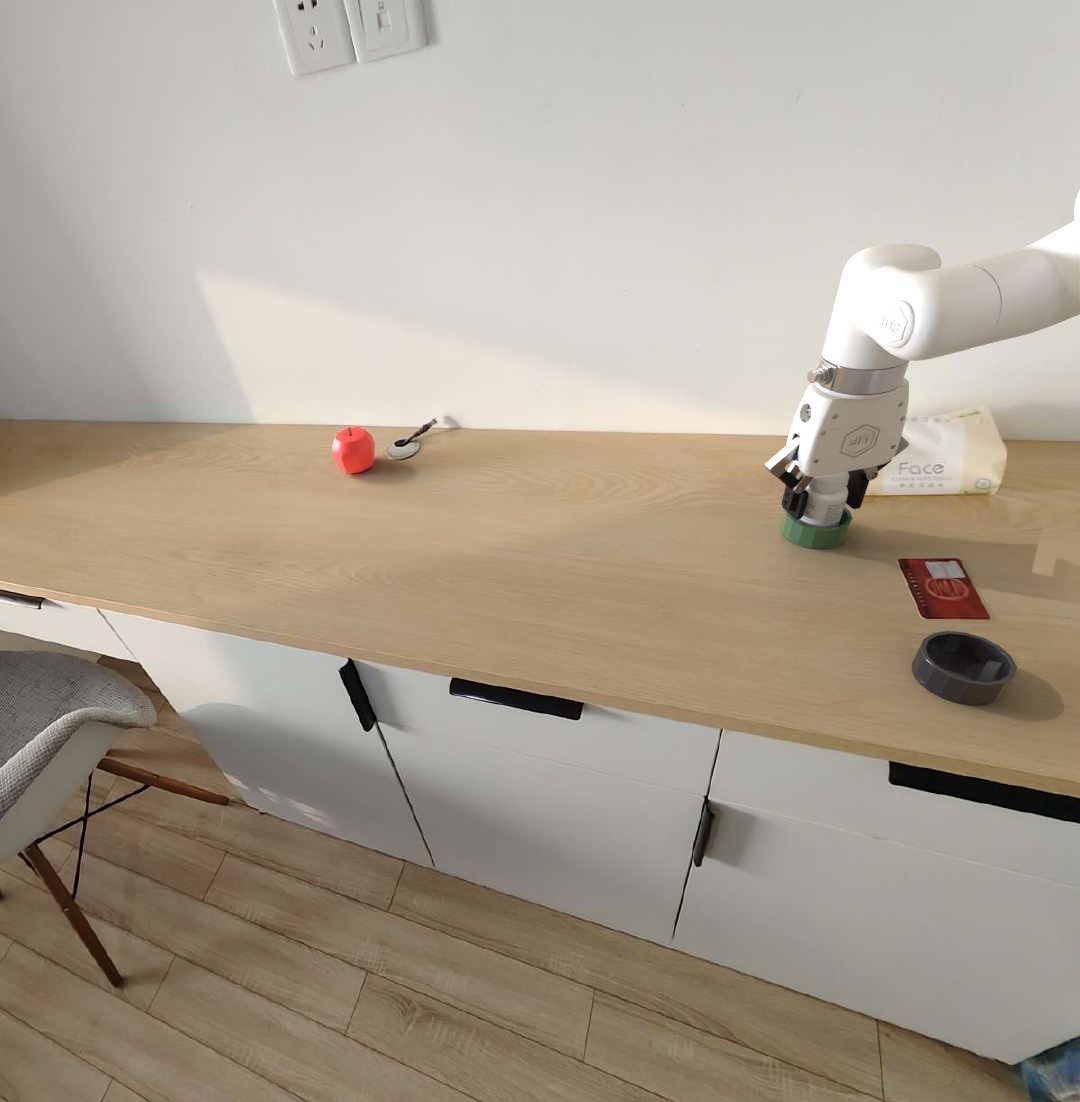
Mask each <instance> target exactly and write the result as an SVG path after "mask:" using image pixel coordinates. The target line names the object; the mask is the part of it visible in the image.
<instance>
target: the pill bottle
mask: <svg viewBox="0 0 1080 1102" xmlns="http://www.w3.org/2000/svg"><path fill="white" fill-rule="evenodd" d="M848 480H849V473H848V472H842V473H837V474H831V475H825V476H819V477H814V478H813V479H812V481H811V482H810V483H809V485H808V486H807V488H806V489H805V490H806V491H807V492H808V493H809V496H808V500H807V503H806V507H805V510H804V514H803V517H802V518H801V519H797V520H796V521H798V522H800V523H802V524H804V525H807V526H811V527H815V528H834V527H838V525H839V522H840V519H841V516H842V513H843V509H844V507H846V506H845V505H846V500H847V496H848V489H847V487H846V486H847V484H848Z"/></svg>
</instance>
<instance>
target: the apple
mask: <svg viewBox="0 0 1080 1102" xmlns="http://www.w3.org/2000/svg"><path fill="white" fill-rule="evenodd" d="M375 443H376V442H375V440H374V437H373V435H372V434H371V433H370V432H368V430H366V429H365V428H362V427H360V426H354V427H353V426H352V427H349V426H348V427H346V428H343V429H342V430H340V431H338V432H336V435H335V437H334V440H333V443H332V445H331V456H332V458H333V460H334V462H335V464H336V466H337V467H338V469H339V470H342V471H343V472H345V473H347V474H350V475H353V474H359V473H362V472H364V471H366V470H368V469H369V468H371V467H372V466H373V465H374V461H375V447H376V444H375Z"/></svg>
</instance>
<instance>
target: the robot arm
mask: <svg viewBox="0 0 1080 1102" xmlns="http://www.w3.org/2000/svg"><path fill="white" fill-rule="evenodd" d="M1073 217H1074V220H1073V221H1071V222H1069V223H1068V224H1066V225H1064V226H1063V227H1060V228H1058V229H1057V230H1055V231H1053V232H1051V233H1049V234H1048V235H1045V236H1043V237H1042V238H1040V239H1037V240H1036V241H1034V242H1032V243H1030V244H1028V245H1025V246H1023V247H1021V248H1018V249H1016V250H1011V251H1007V252H1004V253H1000V254H999V253H998V254H994V255H991V256H987V257H986V256H985V257H983V258H979V259H974V260H970V261H967V262H966V261H965V262H963V263H959V264H954V265H952V266H944V267H942V258H941V256H940V254H939V252H937V250H935V249H933V248H932V247H929V246H925V245H921V244H916V243H915V244H914V243H888V244H887V243H886V244H880V245H875V246H870V247H867V248H863V249H862V250H860V251H858V252H856V253H855V254H854V255H852V256H851V257H849V259H848V260H847V262H846V264H845V265H844V267H843V270H842V275H841V278H840V280H839V281H840V282H839V285H838V290H837V293H836V298H835V302H834V305H833V310H832V313H831V317H830V321H829V325H828V328H827V329H828V330H827V333H826V338H825V341H824V345H823V349H822V353H821V357H820V359H819V364H818V367H817V368H816V369H813V370H810V371H808V372H807V377H806V378H807V382H809V385H808V386H807V388H806V390H805V391H804V394H803V395H802V398H801V401H800V402H799V404H798V407H797V410H796V412H795V414H794V417H793V420H792V423H791V426H790V430H789V433H788V437H787V440H786V444H785V446H783V448H781V449H780V450H779V451H778V452H777V453H776V454H774V455H773V456H772V457H771V458H770V459H769V460H768V461H767V462H765V463H764V466H763V467H764V468H765V470H767V471H768V472H769V473H770V474H772V476H774V477H776V478H777V479H778V480H779V481H780V482H782V483H783V484H784V485H785V488H784V491H783V496H782V500H781V507H782V509H783V510H784V511H785V510H786V511H787V512H788V513H789V514H790V515H791V516H792V517H793V518H794V519H795V520H797V519H801V518H802V517H803V514H804V510H805V507H806V503H807V500H808V496H809V493H808V492H807V491H806V490H805V489H806V488H807V486H808V485H809V483H810V482H811V481H812V479H813V478H814V477H819V476H825V475H831V474H837V473H842V472H848V473H849V480H848V484H847V486H846V487H847V489H848V496H847V500H846V503H845V505H847V506H848V507H849V508H851V509H853V510H859V509H861V507H862V504H863V501H864V499H865V495H866V493H867V490H868V487H869V484H870V482H871V481H873V480H876V479H877V478H878V476H879V471H881V470H882V469H883V468H885V467H886V466H888V464H890V463H891V462H892V461H893V459H894V458H895V457H897V456H898V455H899V454H900V453H902V452H904V450H905V449H907V448H908V447H909V445H910V443H909V441H908V440H907V439H906V438H904V437H903V432H904V431H903V430H904V428H905V423H906V419H907V414H908V408H909V402H910V401H909V400H910V399H909V398H910V381H909V380H908V379H907V378H906V377H905V375H906V372H907V370H908V366H909V363H910V362H911V361H914V362H918V361H919V362H920V361H927V360H932V359H936V358H940V357H945V356H948V355H951V354H955V353H960V352H965V351H968V350H971V349H973V348H977V347H982V346H986V345H989V344H993V343H998V342H1002V341H1006V340H1010V339H1014V338H1019V337H1023V336H1026V335H1030V334H1033V333H1035V332H1039V331H1041V330H1044V329H1047V328H1050V327H1052V326H1055V325H1057V324H1060V323H1062V322H1065V321H1067V320H1069V319H1072V318H1074V317H1077V316H1080V189H1079V191H1078V193H1077V196H1076V198H1075V202H1074V207H1073ZM791 462H792V463H791ZM790 463H791V464H790ZM789 464H790V465H789ZM788 465H789V466H788ZM787 466H788V468H787V469H786V467H787ZM800 472H801V473H802V474H801V475H800V476H799V474H800ZM798 476H799V477H798ZM797 477H798V478H797Z"/></svg>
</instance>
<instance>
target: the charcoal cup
mask: <svg viewBox="0 0 1080 1102" xmlns="http://www.w3.org/2000/svg"><path fill="white" fill-rule="evenodd" d="M1017 669H1018V667H1017V664H1016V662H1015V660H1014V659H1013V657H1012V655H1011V654H1010V653H1008V652H1007V651H1006V650H1005V649H1004V648H1003V647H1002V646H1000V645H999V644H996V643H995V642H993V641H991V640H989V639H987V638H985V637H983V636H979V635H975V634H971V633H969V632H965V631H954V630H943V631H937V632H932V633H931V634H929V635H927V636H926V637H924V638H923V639H922V641H921V643H920V645H919V648H918V649H917V652H916V654H915V655H914V659H913V661H912V663H911V672H912V674H913V677H914V679H916V681H917V682H918V683H919V684H920V685H921V686H922V687H923V688H924V689H926V690H927V691H928V692H930V693H932V694H933V695H935V696H937V697H939V698H942V699H943V700H947V701H949V702H952V703H956V704H960V705H965V706H966V705H967V706H987V705H990V704H993V703H995V702H997V701H998V700H1000V699H1001V697H1002V696H1003V695H1004V694H1005V693H1006V691H1007V690H1008V688H1009V687H1010V685H1011V683H1012V682H1013V680H1014V679H1015V677H1016V674H1017Z"/></svg>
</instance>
